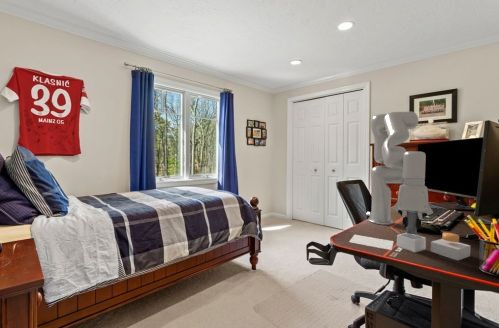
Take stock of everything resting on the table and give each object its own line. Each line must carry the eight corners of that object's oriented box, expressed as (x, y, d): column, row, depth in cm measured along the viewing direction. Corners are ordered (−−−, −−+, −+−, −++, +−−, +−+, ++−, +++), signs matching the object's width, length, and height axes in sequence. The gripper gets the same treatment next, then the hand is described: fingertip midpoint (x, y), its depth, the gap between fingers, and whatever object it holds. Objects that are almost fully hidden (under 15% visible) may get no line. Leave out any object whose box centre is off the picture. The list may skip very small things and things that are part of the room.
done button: (439, 238, 98) (439, 233, 98) (446, 236, 101) (446, 231, 100) (454, 242, 94) (455, 237, 94) (461, 240, 96) (461, 235, 96)
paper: (348, 242, 109) (348, 241, 109) (354, 234, 119) (354, 234, 119) (391, 250, 100) (391, 249, 100) (393, 241, 110) (393, 241, 110)
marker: (404, 232, 103) (404, 205, 103) (409, 230, 105) (410, 204, 104) (413, 234, 100) (414, 207, 99) (418, 233, 102) (419, 206, 101)
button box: (430, 251, 99) (430, 241, 99) (442, 248, 103) (443, 238, 103) (457, 260, 91) (458, 249, 91) (470, 256, 96) (470, 245, 95)
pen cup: (396, 246, 104) (397, 234, 104) (407, 244, 108) (407, 232, 107) (414, 253, 98) (415, 240, 98) (425, 250, 101) (425, 237, 101)
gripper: (388, 181, 103) (387, 226, 104) (439, 184, 94) (437, 233, 95) (390, 180, 109) (388, 222, 110) (438, 182, 100) (436, 228, 101)
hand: (411, 227), depth 102 cm, fingers closed on marker, 3 cm apart
